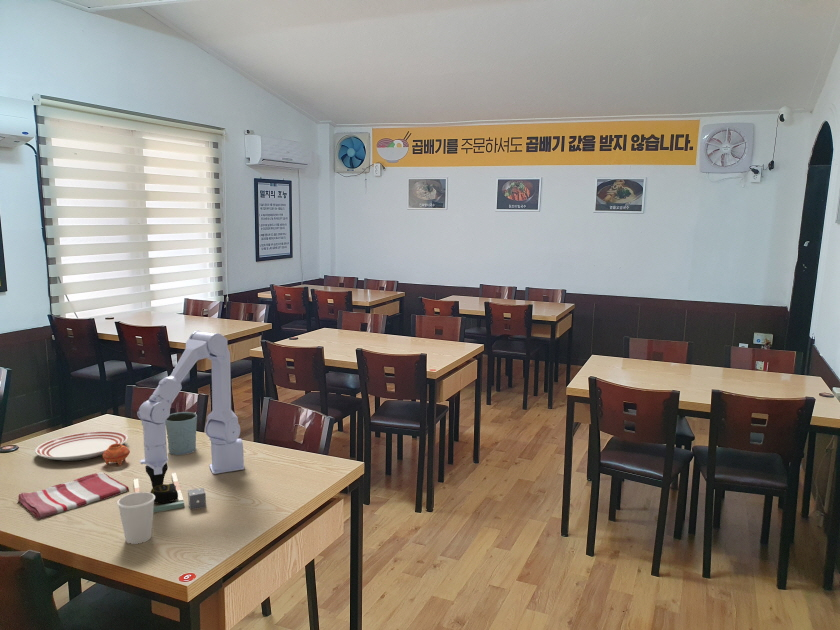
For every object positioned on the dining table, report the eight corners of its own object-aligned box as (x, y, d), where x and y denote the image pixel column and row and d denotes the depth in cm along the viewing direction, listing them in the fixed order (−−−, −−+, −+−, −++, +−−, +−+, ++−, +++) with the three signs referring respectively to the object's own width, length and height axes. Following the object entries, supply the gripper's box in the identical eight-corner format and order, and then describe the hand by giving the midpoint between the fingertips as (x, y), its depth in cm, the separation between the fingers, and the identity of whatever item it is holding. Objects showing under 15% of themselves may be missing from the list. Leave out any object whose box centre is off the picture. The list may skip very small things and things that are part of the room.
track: (175, 476, 189) (175, 472, 189) (184, 507, 169) (184, 502, 169) (133, 483, 184) (133, 479, 184) (137, 515, 164) (136, 511, 163)
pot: (136, 461, 200) (130, 443, 198) (112, 473, 195) (105, 455, 193) (127, 454, 206) (121, 436, 204) (102, 466, 201) (96, 447, 198)
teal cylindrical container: (187, 443, 218) (185, 410, 217) (204, 449, 212) (203, 415, 211) (160, 451, 210) (158, 417, 208) (178, 458, 204) (176, 422, 202)
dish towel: (16, 502, 172) (15, 493, 172) (104, 477, 190) (103, 469, 189) (39, 521, 161) (38, 511, 161) (130, 493, 179) (129, 484, 178)
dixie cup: (149, 526, 158) (147, 488, 156) (162, 538, 152) (160, 499, 150) (114, 537, 152) (112, 498, 151) (126, 550, 146) (123, 509, 145)
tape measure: (178, 503, 171) (178, 490, 170) (151, 508, 168) (150, 494, 167) (176, 493, 177) (175, 481, 177) (150, 498, 174) (149, 485, 174)
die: (204, 501, 173) (203, 487, 172) (206, 507, 169) (205, 493, 168) (188, 504, 171) (187, 490, 170) (190, 510, 167) (189, 495, 167)
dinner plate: (23, 452, 209) (22, 443, 209) (107, 433, 230) (107, 424, 229) (54, 473, 191) (53, 463, 191) (142, 450, 212) (142, 441, 211)
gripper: (138, 437, 178) (140, 483, 180) (140, 454, 165) (143, 503, 167) (165, 434, 181) (167, 479, 183) (169, 450, 169) (171, 498, 170)
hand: (157, 490), depth 176 cm, fingers closed
